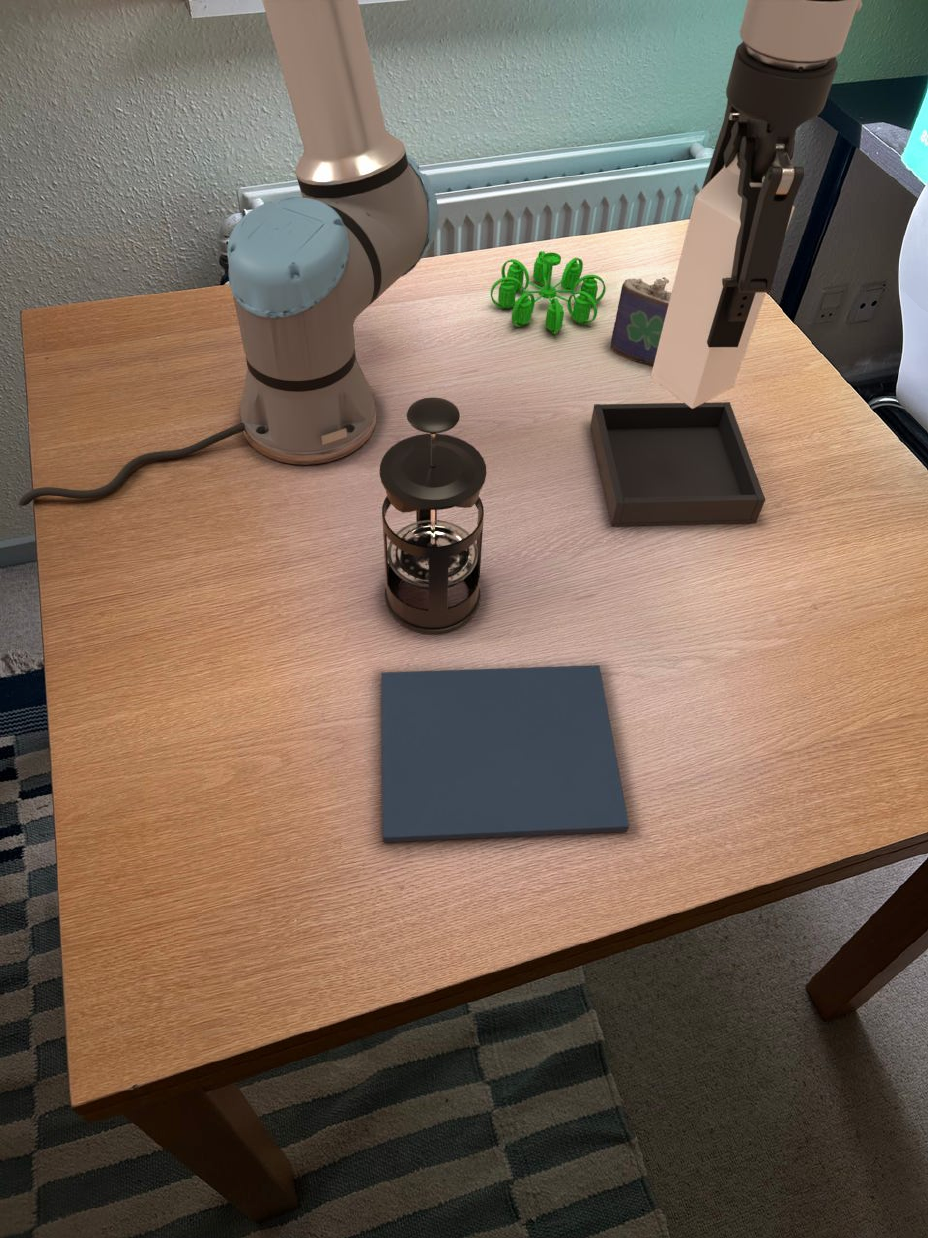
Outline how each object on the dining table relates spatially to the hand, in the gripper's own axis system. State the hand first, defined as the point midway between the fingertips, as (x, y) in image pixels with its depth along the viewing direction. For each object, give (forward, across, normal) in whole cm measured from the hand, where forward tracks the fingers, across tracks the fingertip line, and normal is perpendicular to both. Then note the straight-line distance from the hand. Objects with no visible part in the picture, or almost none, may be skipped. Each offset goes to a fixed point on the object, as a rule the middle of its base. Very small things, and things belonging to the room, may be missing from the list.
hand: (711, 315), depth 86 cm
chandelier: (+20, +32, +10) cm, 39 cm away
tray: (+20, 0, 0) cm, 20 cm away
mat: (+20, -34, +22) cm, 45 cm away
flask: (+20, +21, -1) cm, 29 cm away
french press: (+20, -16, +27) cm, 37 cm away
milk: (+8, 0, 0) cm, 8 cm away
